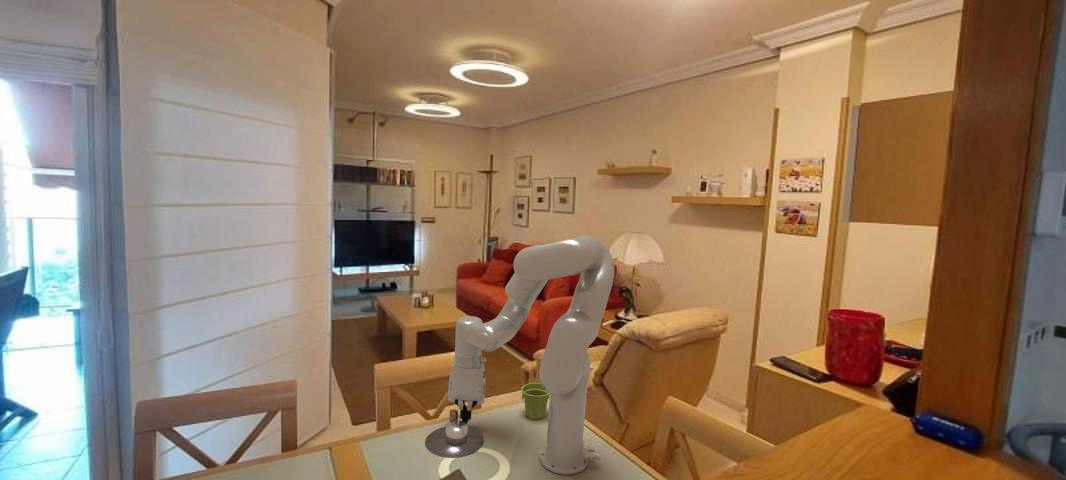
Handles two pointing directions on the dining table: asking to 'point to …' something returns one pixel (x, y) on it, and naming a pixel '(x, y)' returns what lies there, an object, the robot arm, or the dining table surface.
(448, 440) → the cover
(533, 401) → the plant pot
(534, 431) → the dining table surface
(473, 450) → the turntable
